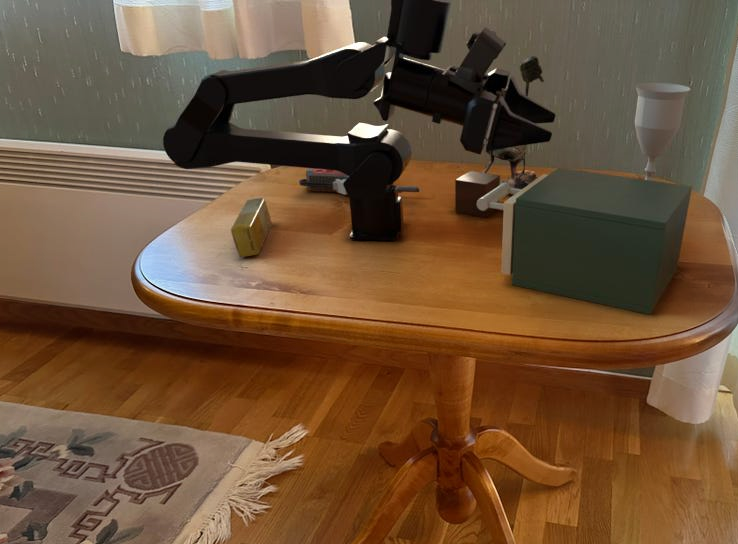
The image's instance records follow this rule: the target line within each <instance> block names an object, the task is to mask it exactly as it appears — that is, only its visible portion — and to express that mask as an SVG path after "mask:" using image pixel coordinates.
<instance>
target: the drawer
mask: <svg viewBox="0 0 738 544" xmlns="http://www.w3.org/2000/svg"><path fill="white" fill-rule="evenodd" d="M548 175H549V174H546V173H542V175H540V176H538V177H537V179H536V180H535V181H533V182H532V183H530V184H529V185H528V186H526V187H525V188H523V189H515V188H511V187H510V185H509V184H507V183H503V184H501V185H500V186H498V187H497V188H495V189H494V190H492V191H491V192H489V193H488V194H486V195H485V196H483V197H482V198H480V199H479V200H478V201H477V207H478V209H480V210H482V211H484V210H486V209H488V208H494V209H496V210H501V211H503V216H502V217H503V219H502V244H501V245H502V246H501V269H500V270H501V274H504V275H509V276H512V275H513V255H514V232H515V210H516V198H517V197H519V196H520V195H522V194H523V193H524V192H526V191H527V190H528V189H530V188H531V187H533V186H534V185H535V184H537V183H538V182H539V181H541V180H542V179H544V178H545V177H546V176H548ZM508 195H512V196H510V197H509V198H508V199H506V200H505V201H504V202H503V203H501V202H500V201H501V200H502V199H504V198H506V197H507V196H508ZM498 201H499V203H496V202H498Z"/></svg>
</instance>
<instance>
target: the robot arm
mask: <svg viewBox="0 0 738 544" xmlns="http://www.w3.org/2000/svg"><path fill="white" fill-rule="evenodd" d="M451 4H452V1H450V0H390V15H389V22H388V28H387V33H386V36H383V37H381V38H379V39H378V40H376V41H375V44H373V45H371V43H368V42H362V41H361V42H360V41H359V42H354V43H353V44H350V45H347V46H343V47H341V48H338V49H336V50H333V51H330V52H327V53H325V54H322V55H319V56H317V57H314V58H311V59H307V60H301V61H294V62H286V63H278V64H273V65H272V64H271V65H265V66H258V67H250V68H244V69H236V70H226V69H225V70H224V69H223V70H218V71H216V72H213V73H209V75H205V76H204V77H203V78H202V79H201V81H200V84H199V85H198V87H197V89H196V91H195V93H194V95H193V96H192V98H191V100H189V102H188V103H187V105H186V106H185V108H184V110H182V112H181V114H180V115H179V116H178V118H177V120H176V123H175V124H173V125H171V126H169V127H168V128H167V129H166V130H165V132H164V134H163V138H162V145H163V149H164V151H165V152H164V153H165V154H166V155H167V157H168V159H169V160H171V161H172V162H173V163H174V165H175V166H176V167H178V168H180V169H183V170H197V169H207V168H214V167H217V166H222V165H226V164H232V163H246V164H258V165H269V166H280V167H293V168H302V169H309V168H314V169H325V170H336V171H339V172H341V173H343V174H345V175H347V176H349V177H348V178H347V179H346V180H345V181H344V183H343V186H344V188H345V190H346V192H347V195H346V196H347V197H348V201H349V209H350V223H351V232H350V233H349V239H350V240H351V241H357V240H358V241H397V240H398V238H399V234H400V233H401V232H402V231H403V228H404V224H405V223H404V205H403V204H404V203H403V197H402V196H399V193H398V186H399V185H393V184H395V182H397V181H398V180H399V179H400V177H401V176H402V175H403V173H404V171H405V170H406V169H407V167H408V165H409V164H410V162H411V159H412V154H413V153H412V147H411V144H410V142H409V140H408V139H407V138H406V137H405V135H403V133H402V132H400V131H398V130H394V129H389V128H390V124H388V123H386V124H384V125H372V124H369V123H366V122H365V123H363V122H358V124H356V125H355V126H354V127H353V128H352V129H351V130H350V131H348V132H347V135H345V136H335V135H323V134H311V133H310V134H309V133H299V132H289V131H288V132H286V131H274V130H265V129H264V130H262V129H253V128H252V129H250V128H243V127H239V126H238V125H235V124H234V123H231V119H232V115H233V112H234V108H235V106H236V105H237V104H245V103H252V102H259V101H267V100H275V99H282V98H290V97H298V96H304V95H310V96H311V95H312V96H319V97H324V98H330V99H341V100H343V99H346V100H358V99H362V98H364V97H366V96H367V95H368V94H369V93H371V92H372V91H373V90H375V89H376V88H377V87H379V85H380V84H381V82H382V81H383V84H382V88H381V89H382V90H381V93H380V94H381V95H380V97H378V98H377V99H375V100H374V101H373V106H374V107H375V108H376V109H377V111H378V113H379V115H380V117H381V120H382V121H383V122H387V121H388V120H389V119H391V118H392V117H393V116H394V114H395V110H396V107H397V108H400V109H403V110H407V111H410V112H414V113H417V114H421V115H424V116H427V117H431V118H432V119H431V123H433V124H434V123H435V124H437V125H440V124H441V123H442V121H445V122H448V123H451V124H454V125H458V126H460V127H461V126H462V129H461V133H460V134H461V135H460V138H459V142H460V144H461V145H462V147H463V148H464V151H466V152H469V153H473V154H475V155H482V153H483V151H484V148H485V153H487V152H490V151H493V150H498V149H504V148H509V147H516V146H522V145H526V146H528V145H529V146H530V145H533V144H534V145H536V144H542V143H549V142H550V141H551V139H552V136H553V132H552V131H551V130H549V129H547V128H546V127H544V126H541V125H540V124H551V123H554V122H555V119H556V113H555V112H554V111H553V110H550V109H549V108H547V107H545V106H544V105H542V104H540V103H539V102H537V101H536V100H533V99H532V98H531V97H529V96H526V94H524V93H523V92H521V90H520V88H519V87H518V84H517V82H516V79H515V77H514V75H511V71H508V70H505V69H502V68H499V67H496V68H494V69H493V70H491V71H490V72H487V71H488V70H489V68H490V67H491V65H492V64H493V63H494V61H495V60H496V59H498V57H499V55H500V54H501V53H502V52H503V50H504V48H505V46H506V45H507V42H506V41H504V40H503V39H502V38H501V37H499V36H498V35H497V33H496V31H495V30H490V29H489V28H487V27H486V26H485V27H483V28H482V30H481V31H479V32H478V31H473V33H472V34H471V36H470V38H469V40H468V41H467V42H466V45H465V46H466V47H467V49H468V52H467V53H466V55H465V56H464V58H463V60H462V61H461V63H460V65H459V66H457V65H450V66H447V68H446V69H444V68H440V67H437V66H433V65H431V64H427V63H423V62H419V61H417V60H421V61H431V59H432V56H433V54H440V53H442V49H443V44H444V39H445V34H446V28H447V25H448V19H449V14H450V9H451V6H452V5H451ZM405 56H407V57H410V58H413V59H417V60H413V59H410V58H406V57H405ZM392 59H394V60H393V65H392V68H391V72H386V71H385V67H386V66H387V65H388V64H389V63H390V62H391V60H392ZM510 75H511V76H510ZM485 140H488V143H487V147H486V143H485Z"/></svg>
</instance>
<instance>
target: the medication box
mask: <svg viewBox="0 0 738 544" xmlns="http://www.w3.org/2000/svg"><path fill="white" fill-rule="evenodd" d="M272 225H273V222H272V220H271V215H270V211H269V208H268V205H267V202H266V200H265V197H258V198H251V199H248V200H246V202H245V203H244V205H243V207H242V208H241V211H240V212H239V214H238V216H237V217H236V219H235V220H234V223H233V225H232V226H231V228H230V233H231V236H232V239H233V243H234V246H235V249H236V251H237V254H238V256H239V258H244V257H250V256H256V255H259V254H260V251H261V250H262V247H263V245H264V243H265V241H266V238H267V236H268V234H269V231H270V229H271V227H272Z"/></svg>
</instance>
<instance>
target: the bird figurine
mask: <svg viewBox="0 0 738 544" xmlns="http://www.w3.org/2000/svg"><path fill="white" fill-rule="evenodd" d="M519 71H520V73H521V74H520V75H521V78H522V81H523V82H524V83H525V88H524V92H525V95H526V96H527V97H529V88H530V83H533V82H534V81H537V80H539V81H540V82H541V83H544V78H543V76H542V74H543V69H542V66H541V64H540V61H539V58H538V56H536V55H534V54H533V55H530V56H529V57H528V58H526V59H524V60H523V61H522V62H520V64H519ZM485 141H486V142H485V148H486V147H487V143H488V140H487V139H485ZM526 149H527V145H522V146H516V147H509V148H504V149H498V150H493V151H490V152H486V153H487V154H488V155H489V156H490V158H489V161H488V162H487V163H486V164H485V166H484V170H483V171H482V173H487V172H488V171H489V170H490V168H491V167H492V165H493V164H494V162H495V158H496V159H499V160H501V161H508V162H509V167H510V173H511V175H510V177H507V178H504V179H503V178H502V179H501V178H500V185H501V184H503V183H507V184H509V185H510V187H511V188H515V189H523V188H525V187H526V186H528V185H529V184H530V183H532V182H533V181H535V180H536V179H537V178H538V176H537V174H536V171H531V170H528V169H526ZM521 162H522V163H523V170H518V171H517V166H518V164H520V163H521Z"/></svg>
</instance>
